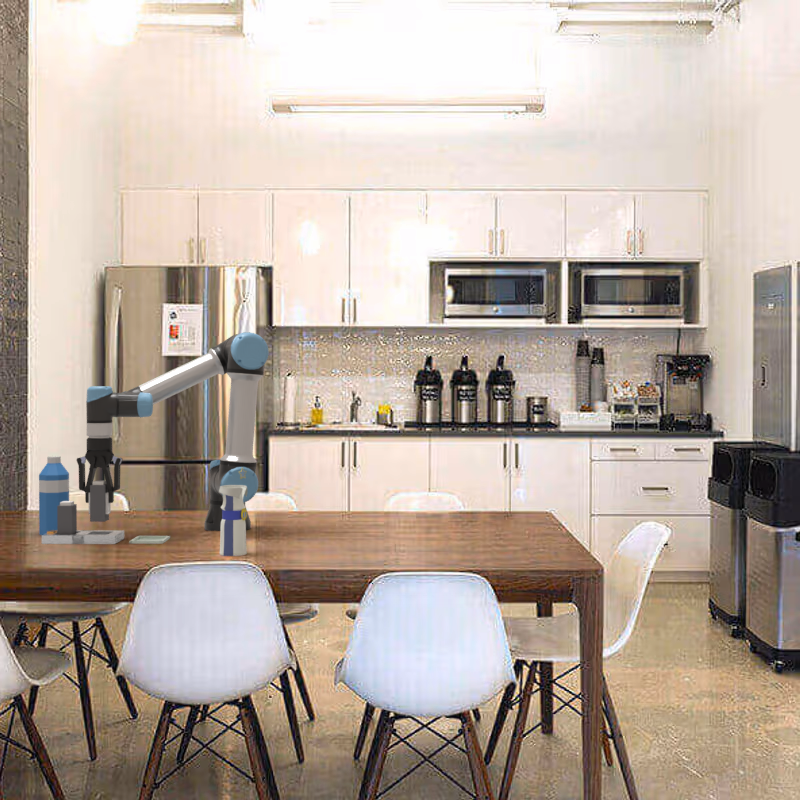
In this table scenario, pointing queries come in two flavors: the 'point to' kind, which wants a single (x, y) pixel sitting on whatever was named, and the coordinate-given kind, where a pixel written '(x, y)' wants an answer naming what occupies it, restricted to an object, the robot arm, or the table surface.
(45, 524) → the water bottle
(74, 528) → the twin plug
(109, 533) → the pdu strip
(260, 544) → the table surface
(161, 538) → the tray
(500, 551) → the table surface
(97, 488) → the plug
